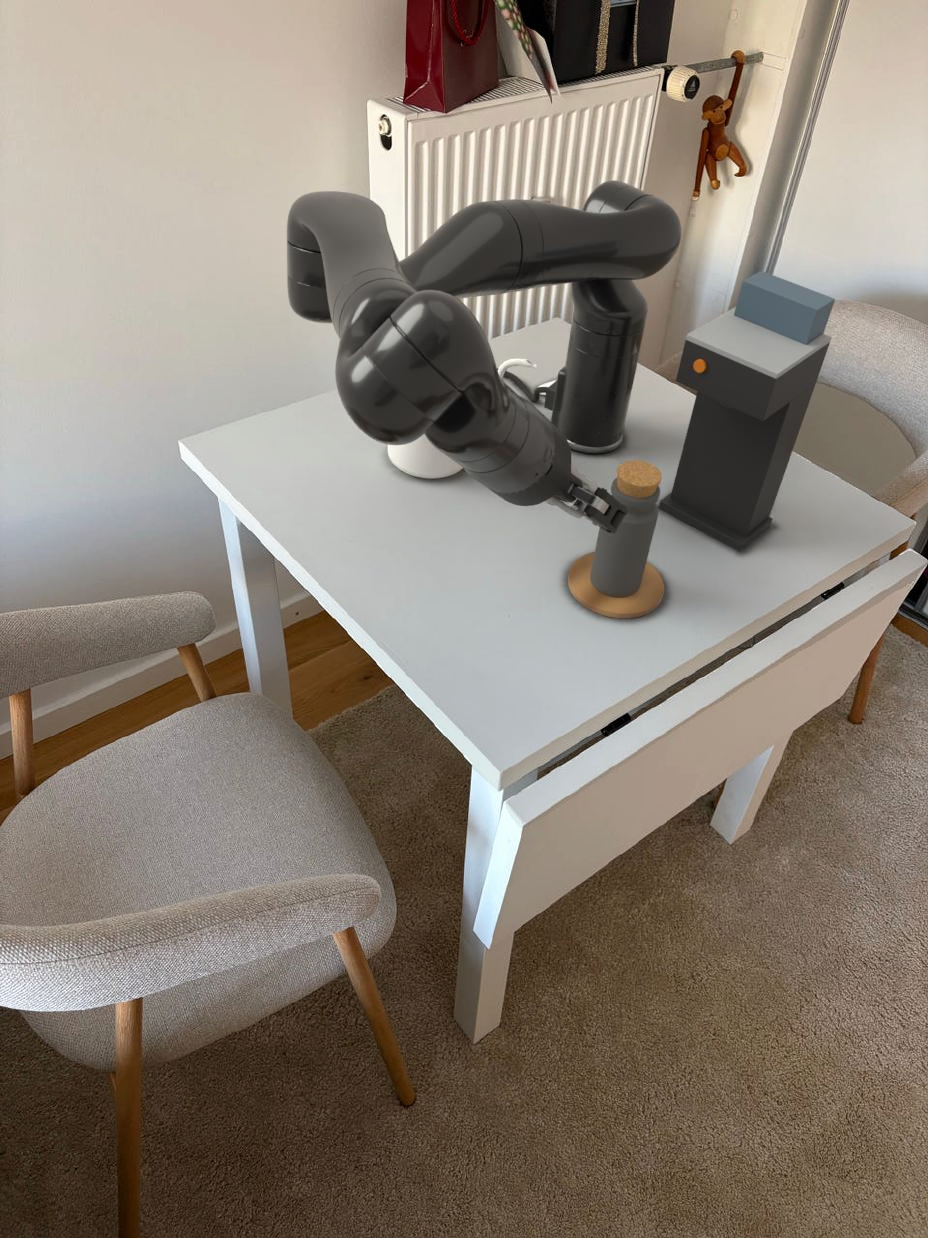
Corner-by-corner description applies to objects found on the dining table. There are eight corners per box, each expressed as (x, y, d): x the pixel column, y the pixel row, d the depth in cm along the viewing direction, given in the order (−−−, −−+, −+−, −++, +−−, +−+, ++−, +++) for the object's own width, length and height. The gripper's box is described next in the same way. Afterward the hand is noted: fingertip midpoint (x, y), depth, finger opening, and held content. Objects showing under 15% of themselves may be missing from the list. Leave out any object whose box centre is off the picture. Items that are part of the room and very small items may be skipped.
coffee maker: (719, 570, 117) (791, 340, 97) (636, 524, 122) (688, 298, 102) (770, 526, 124) (848, 303, 104) (690, 484, 130) (749, 265, 109)
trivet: (550, 592, 112) (551, 587, 112) (594, 543, 119) (595, 538, 119) (638, 632, 108) (639, 627, 108) (677, 579, 115) (679, 574, 115)
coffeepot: (510, 505, 124) (526, 370, 111) (328, 457, 129) (323, 323, 116) (534, 460, 131) (552, 329, 118) (361, 416, 136) (361, 286, 123)
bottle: (638, 602, 111) (666, 493, 100) (586, 592, 111) (608, 483, 101) (642, 569, 115) (668, 461, 105) (592, 560, 115) (614, 452, 105)
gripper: (424, 451, 84) (500, 503, 99) (554, 526, 78) (616, 570, 92) (469, 374, 84) (540, 437, 98) (604, 444, 77) (658, 500, 91)
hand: (576, 501), depth 95 cm, fingers open, 8 cm apart
